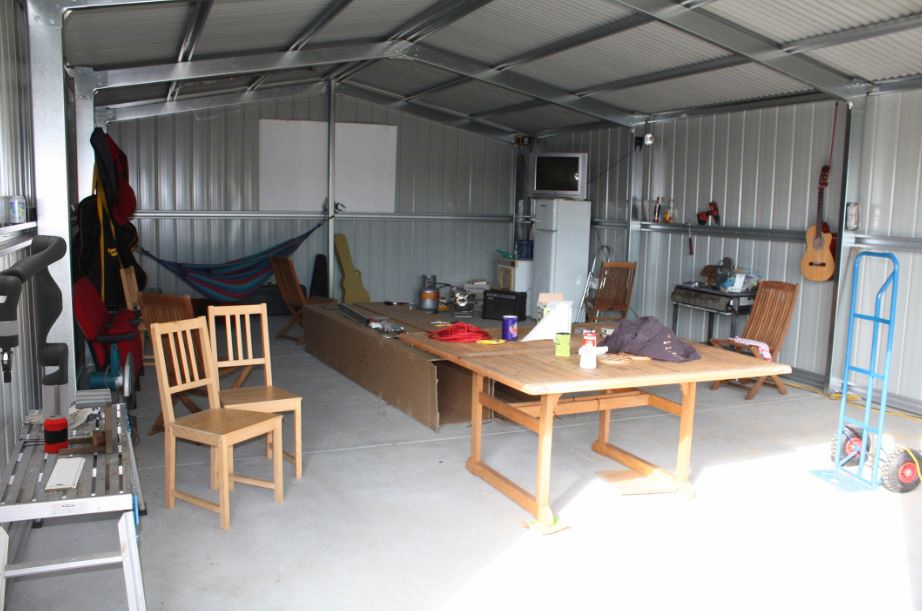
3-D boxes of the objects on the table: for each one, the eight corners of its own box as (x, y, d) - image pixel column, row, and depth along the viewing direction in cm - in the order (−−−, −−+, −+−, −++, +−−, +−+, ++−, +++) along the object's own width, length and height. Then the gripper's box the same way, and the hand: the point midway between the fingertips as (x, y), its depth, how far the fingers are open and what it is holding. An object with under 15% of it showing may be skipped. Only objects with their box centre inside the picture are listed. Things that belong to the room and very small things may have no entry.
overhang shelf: (112, 453, 277) (111, 401, 275) (58, 458, 270) (57, 404, 268) (110, 437, 295) (109, 388, 293) (60, 442, 288) (59, 391, 286)
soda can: (60, 445, 284) (60, 413, 282) (72, 449, 280) (71, 417, 278) (40, 450, 277) (39, 417, 276) (51, 454, 273) (51, 421, 272)
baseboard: (90, 460, 270) (58, 463, 267) (90, 452, 270) (57, 455, 267) (80, 490, 242) (44, 494, 239) (80, 482, 242) (44, 485, 239)
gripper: (17, 335, 265) (18, 385, 267) (19, 329, 277) (21, 377, 279) (-9, 336, 262) (-7, 387, 264) (-5, 330, 274) (-3, 379, 276)
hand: (7, 382), depth 272 cm, fingers closed
